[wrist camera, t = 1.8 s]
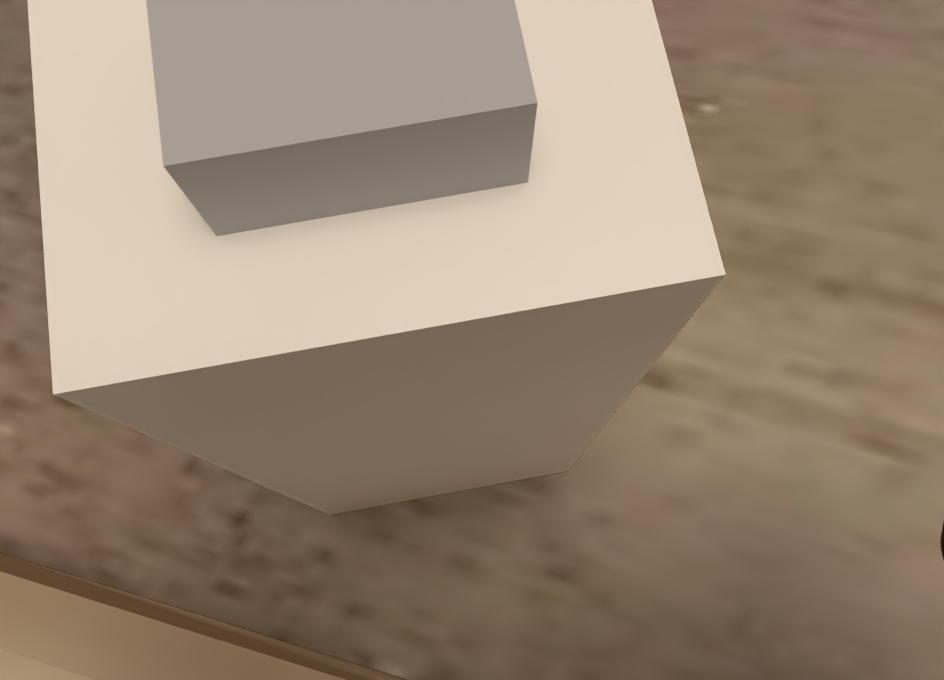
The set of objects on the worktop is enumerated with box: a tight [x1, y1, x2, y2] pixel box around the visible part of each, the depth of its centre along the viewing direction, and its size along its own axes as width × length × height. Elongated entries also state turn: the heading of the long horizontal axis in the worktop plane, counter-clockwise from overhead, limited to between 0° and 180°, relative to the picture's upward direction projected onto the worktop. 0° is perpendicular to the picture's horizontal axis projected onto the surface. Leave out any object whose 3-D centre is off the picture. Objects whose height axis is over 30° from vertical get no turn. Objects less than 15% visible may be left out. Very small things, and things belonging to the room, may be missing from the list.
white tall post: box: [28, 0, 725, 515], centre depth 13 cm, size 4×5×14 cm
